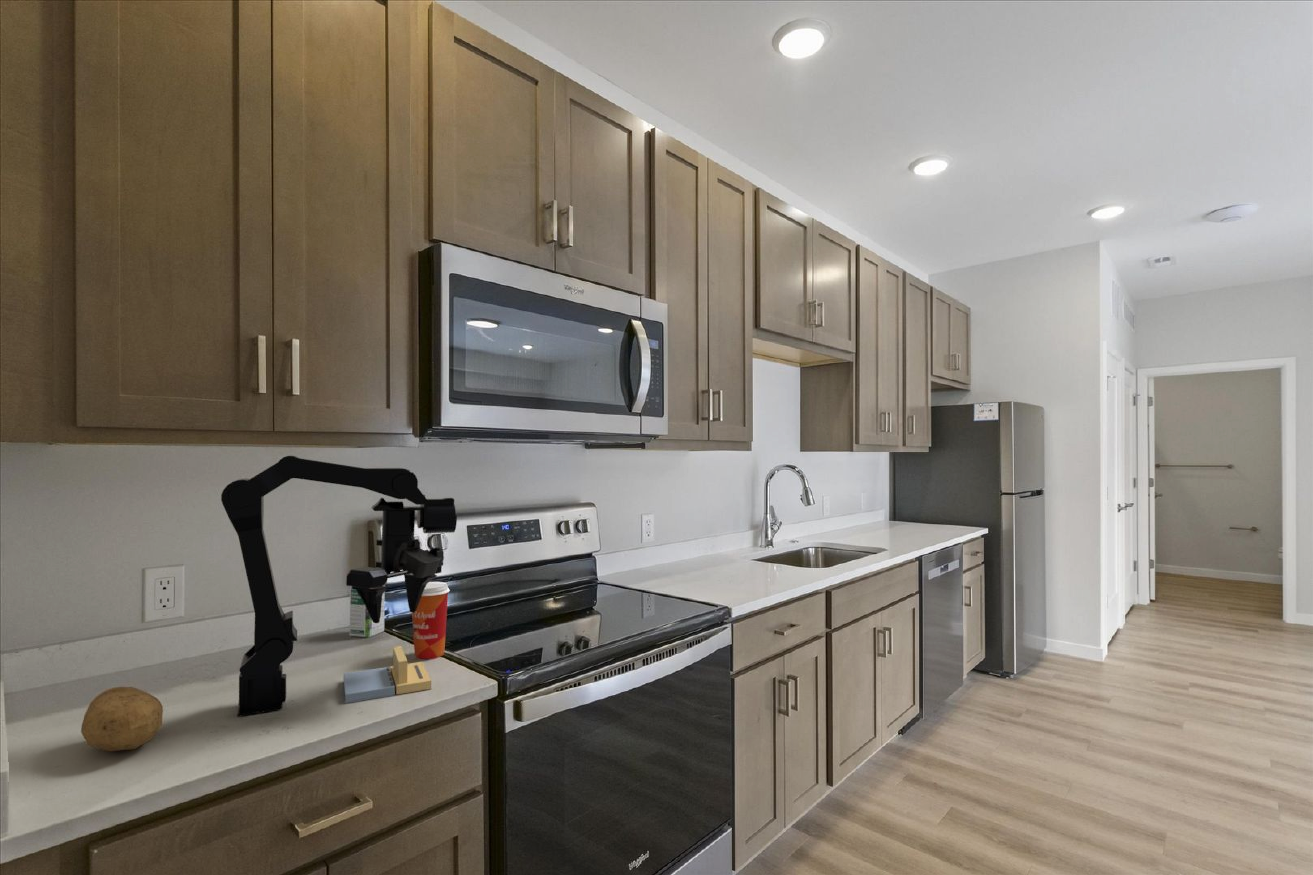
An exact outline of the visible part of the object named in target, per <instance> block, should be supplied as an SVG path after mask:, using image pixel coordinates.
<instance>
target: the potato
mask: <svg viewBox="0 0 1313 875" xmlns="http://www.w3.org/2000/svg"><path fill="white" fill-rule="evenodd" d="M163 713H164V708H163V705H162V703H161V701H160V700H159V699H158V698H157V697H155V696H154V695H152V694H151V693H148V692H146V691H144V690H142V689H138V688H136V687H133V686H117V687H112V688H110V689H109V688H108V689H106V690H104V691H102V692H101V693H99V694H98V695H97V696H95V698H94V699H93V700H92V701H91V702H89V705H88V707H87V709H86V712H85V713H84V716H83V720H82V724H81V730H80V733H81V735H82V737H83V738H84V740H85V743H86V744H87V745H89V746H90V747H94V748H97V749H100V750H103V751H104V752H105V751H106V752H117V751H127V750H128V751H129V750H131V751H132V750H136V749H137V748H139V747H141V746H142V745H144V744H145V743H147V742H149V741H150V740H151V739H153V737H154V736H155V735H156V733H157V732H158V731H159V730H160V728H161V727H162V725H163V715H164V714H163Z"/></svg>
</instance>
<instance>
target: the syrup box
mask: <svg viewBox="0 0 1313 875" xmlns="http://www.w3.org/2000/svg"><path fill="white" fill-rule="evenodd" d="M384 586H386V584H385V585H384ZM385 592H386V591H385ZM385 592H384V593H383V594H382V604H381V616H380V621H379V623H374V622H373V621H372V619H371V617H370V614H369V612H368V610H367V608H366V606H365V604H364V602H363V600H362V599H361V597H360V595H359V594H358V592H357V591H356V590H355V589H352V586H349V632H348V633H349V637H360V638H371V637H374V636H375V635H376V636H377V635H378V634H380V633H383V632H385Z"/></svg>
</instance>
